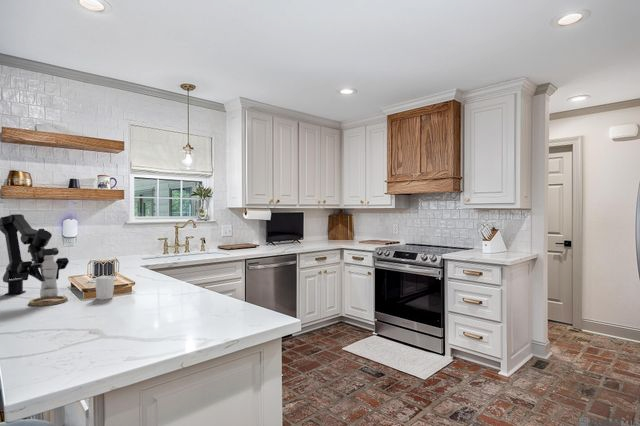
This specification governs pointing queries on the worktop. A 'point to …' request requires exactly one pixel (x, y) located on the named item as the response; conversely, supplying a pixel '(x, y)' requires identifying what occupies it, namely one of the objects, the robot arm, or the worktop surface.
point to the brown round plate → (47, 301)
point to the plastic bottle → (49, 278)
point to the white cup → (104, 287)
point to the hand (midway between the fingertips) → (50, 279)
